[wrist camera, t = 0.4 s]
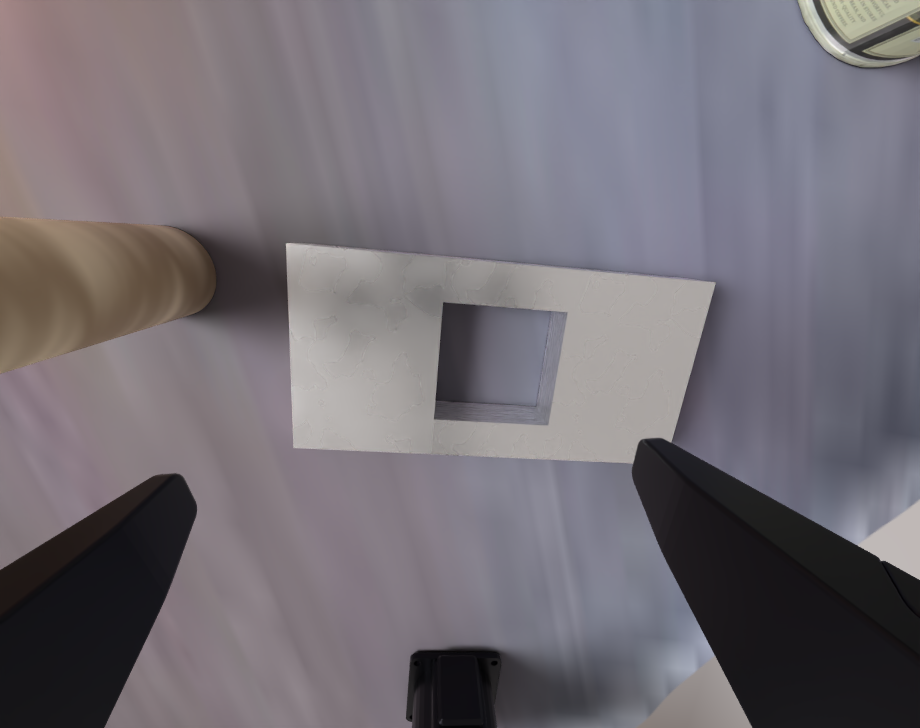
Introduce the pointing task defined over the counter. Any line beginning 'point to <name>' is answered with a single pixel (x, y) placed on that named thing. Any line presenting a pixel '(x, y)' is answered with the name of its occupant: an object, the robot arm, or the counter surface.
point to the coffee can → (865, 29)
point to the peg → (92, 284)
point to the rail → (418, 340)
